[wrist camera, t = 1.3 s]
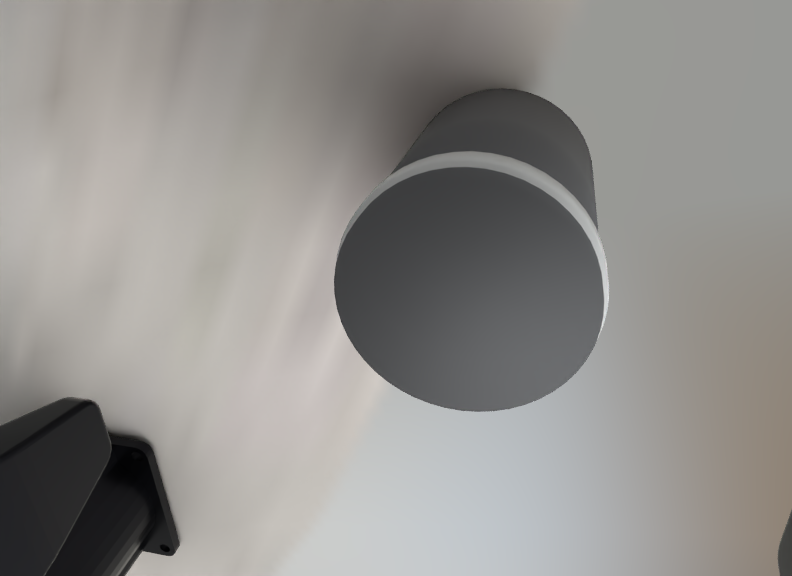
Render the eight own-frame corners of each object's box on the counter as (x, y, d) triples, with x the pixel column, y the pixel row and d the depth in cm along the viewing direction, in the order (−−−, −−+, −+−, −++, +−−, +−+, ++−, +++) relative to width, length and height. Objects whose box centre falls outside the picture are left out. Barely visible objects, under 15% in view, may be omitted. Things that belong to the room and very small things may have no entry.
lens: (586, 270, 18) (593, 430, 12) (410, 258, 20) (339, 399, 14) (607, 85, 16) (628, 174, 10) (405, 83, 17) (316, 162, 11)
